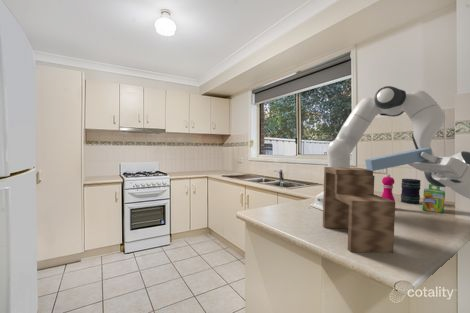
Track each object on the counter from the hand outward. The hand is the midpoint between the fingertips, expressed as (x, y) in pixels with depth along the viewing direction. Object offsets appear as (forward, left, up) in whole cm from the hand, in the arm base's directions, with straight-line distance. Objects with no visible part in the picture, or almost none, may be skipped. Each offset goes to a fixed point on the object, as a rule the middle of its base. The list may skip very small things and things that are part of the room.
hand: (415, 153), depth 87 cm
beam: (-3, -5, -4) cm, 7 cm away
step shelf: (-12, -18, -33) cm, 39 cm away
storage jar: (-33, +71, -33) cm, 85 cm away
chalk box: (-17, +61, -33) cm, 71 cm away
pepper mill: (-31, +41, -33) cm, 61 cm away
